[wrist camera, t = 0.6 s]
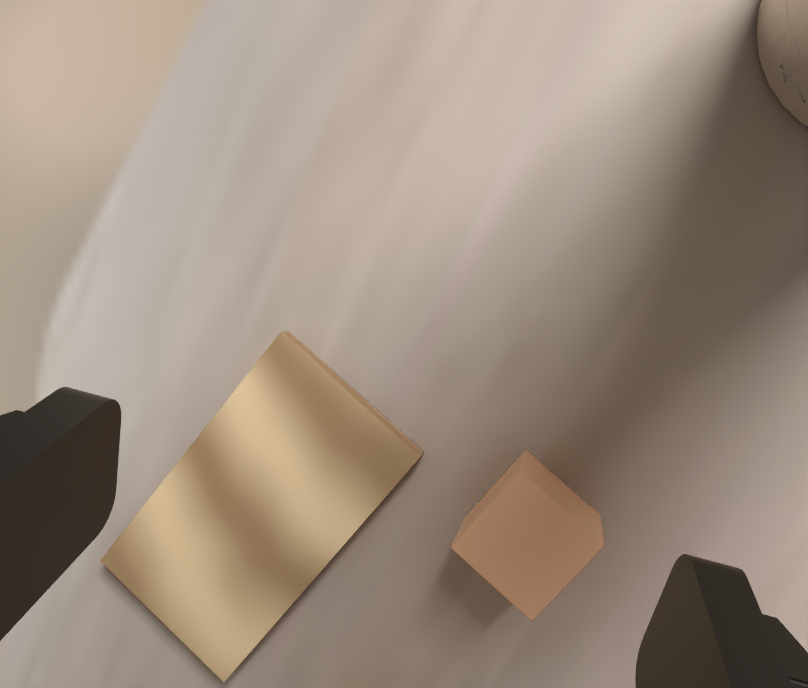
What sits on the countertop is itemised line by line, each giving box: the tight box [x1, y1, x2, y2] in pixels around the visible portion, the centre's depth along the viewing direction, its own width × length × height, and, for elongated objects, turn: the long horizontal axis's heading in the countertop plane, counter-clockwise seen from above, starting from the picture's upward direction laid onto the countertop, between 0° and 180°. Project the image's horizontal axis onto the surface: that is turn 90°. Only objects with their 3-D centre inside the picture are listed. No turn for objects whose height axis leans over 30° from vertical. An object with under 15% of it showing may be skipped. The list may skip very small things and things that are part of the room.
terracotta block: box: [450, 450, 605, 621], centre depth 30 cm, size 4×4×4 cm
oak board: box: [100, 332, 424, 682], centre depth 34 cm, size 14×8×1 cm, turn 140°
